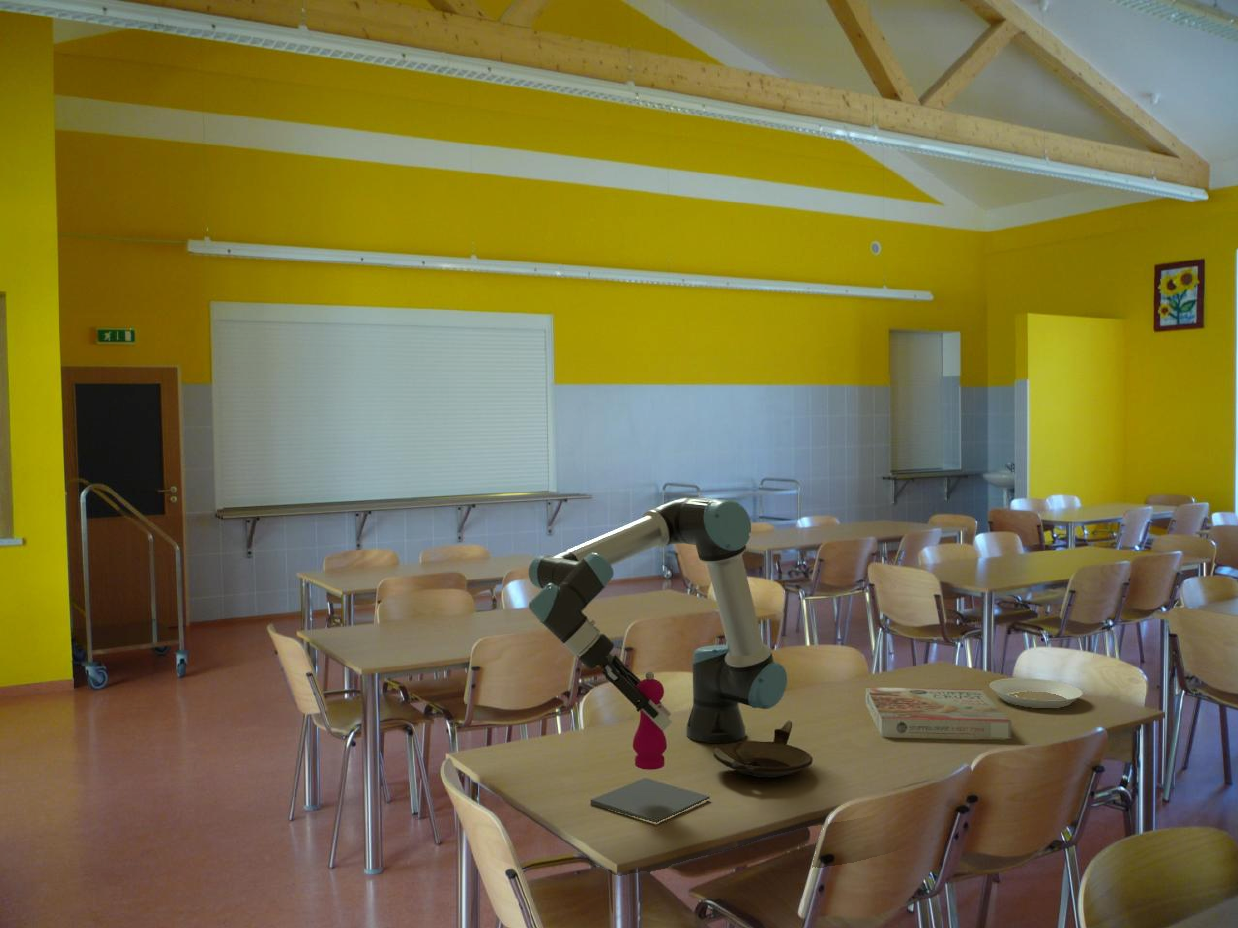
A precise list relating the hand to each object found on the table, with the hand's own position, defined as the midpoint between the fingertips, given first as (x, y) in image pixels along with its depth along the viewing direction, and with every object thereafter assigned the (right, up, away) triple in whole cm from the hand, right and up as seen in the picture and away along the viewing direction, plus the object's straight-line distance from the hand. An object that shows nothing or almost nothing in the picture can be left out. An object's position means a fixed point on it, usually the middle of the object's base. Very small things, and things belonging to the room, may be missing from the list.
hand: (667, 721), depth 225 cm
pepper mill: (-4, -10, +1) cm, 10 cm away
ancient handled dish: (+25, -17, +21) cm, 37 cm away
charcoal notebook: (-3, -17, +1) cm, 18 cm away
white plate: (+110, -14, +81) cm, 137 cm away
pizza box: (+75, -15, +61) cm, 97 cm away
